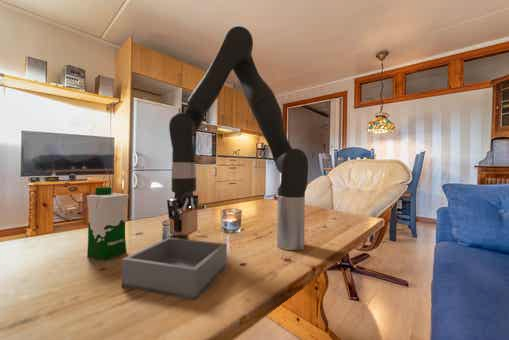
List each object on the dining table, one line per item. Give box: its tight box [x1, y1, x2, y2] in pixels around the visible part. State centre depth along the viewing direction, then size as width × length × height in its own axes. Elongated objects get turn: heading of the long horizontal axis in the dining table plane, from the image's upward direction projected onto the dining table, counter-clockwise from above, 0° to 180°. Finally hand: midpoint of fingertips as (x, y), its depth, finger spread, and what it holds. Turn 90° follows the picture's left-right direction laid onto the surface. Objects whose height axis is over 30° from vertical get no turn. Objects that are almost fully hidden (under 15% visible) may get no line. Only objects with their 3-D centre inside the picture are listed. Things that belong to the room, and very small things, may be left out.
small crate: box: [170, 208, 198, 237], centre depth 69 cm, size 6×6×7 cm
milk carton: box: [86, 186, 130, 262], centre depth 65 cm, size 9×9×20 cm
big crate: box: [120, 237, 228, 301], centre depth 52 cm, size 18×16×6 cm
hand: (184, 228), depth 69 cm, fingers closed on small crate, 6 cm apart
